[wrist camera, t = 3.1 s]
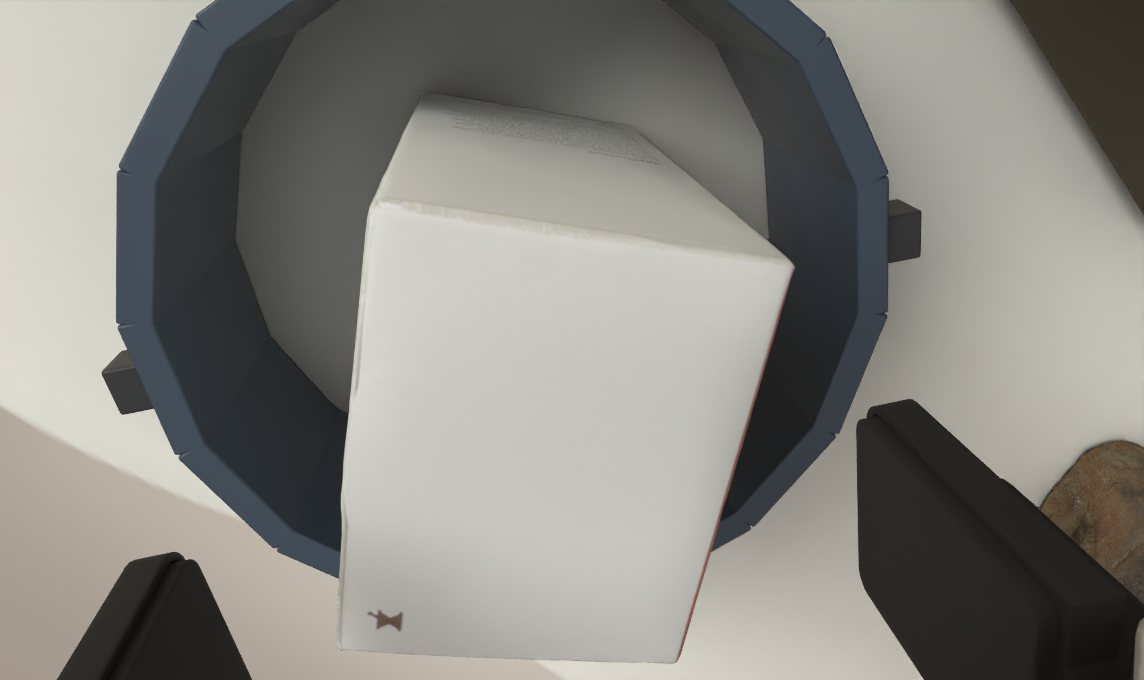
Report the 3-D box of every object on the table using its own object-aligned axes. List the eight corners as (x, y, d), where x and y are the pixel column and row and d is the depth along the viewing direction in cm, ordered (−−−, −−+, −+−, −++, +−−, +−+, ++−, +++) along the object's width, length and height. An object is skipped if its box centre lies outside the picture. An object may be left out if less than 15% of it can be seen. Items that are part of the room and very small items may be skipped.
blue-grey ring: (68, -14, 20) (-100, -14, 14) (811, -149, 21) (944, -201, 15) (286, 528, 28) (235, 676, 22) (828, 418, 28) (921, 532, 22)
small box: (588, 366, 26) (681, 677, 14) (395, 344, 25) (324, 662, 13) (638, 119, 23) (807, 259, 11) (419, 83, 22) (355, 196, 10)
